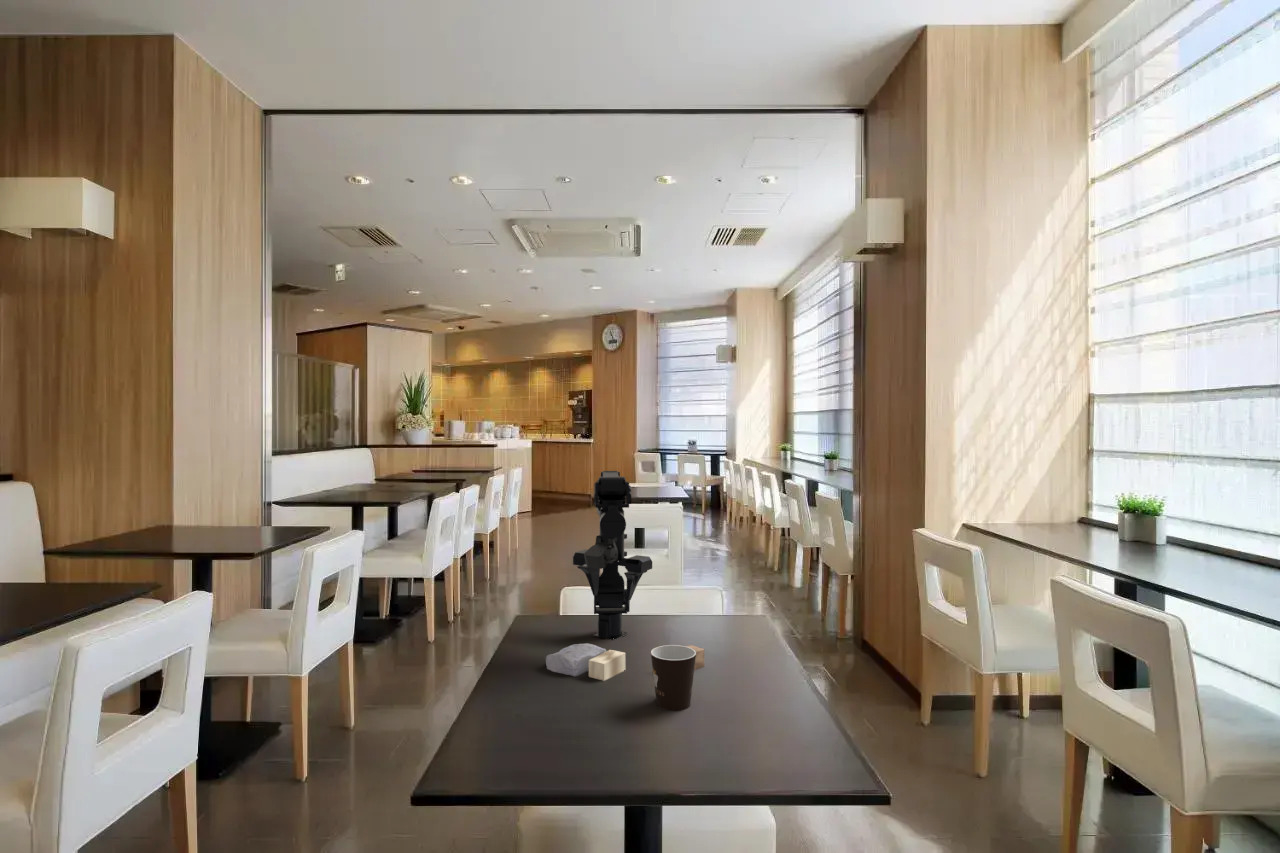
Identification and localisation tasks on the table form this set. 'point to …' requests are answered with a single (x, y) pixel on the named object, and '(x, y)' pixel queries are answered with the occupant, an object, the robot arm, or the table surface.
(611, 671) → the ash brick
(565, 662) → the stone block
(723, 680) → the table surface
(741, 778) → the table surface
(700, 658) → the brick
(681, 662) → the coffee mug
